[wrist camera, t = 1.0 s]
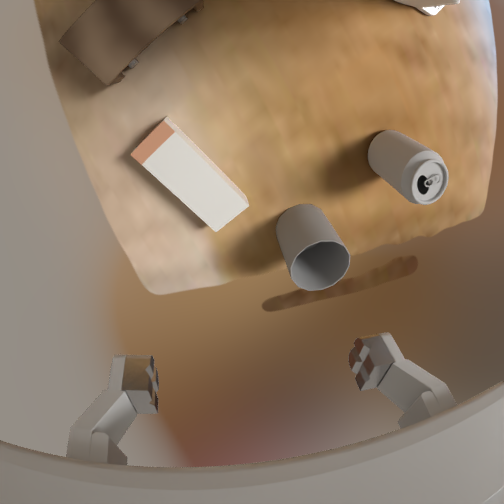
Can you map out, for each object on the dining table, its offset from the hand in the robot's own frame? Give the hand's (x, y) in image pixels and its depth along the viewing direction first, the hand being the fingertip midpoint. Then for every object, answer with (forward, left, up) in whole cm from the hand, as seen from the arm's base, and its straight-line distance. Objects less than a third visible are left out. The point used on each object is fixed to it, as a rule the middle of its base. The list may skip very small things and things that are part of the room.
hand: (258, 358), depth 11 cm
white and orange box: (+6, +1, -33) cm, 34 cm away
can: (-18, +17, -33) cm, 42 cm away
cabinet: (-3, -19, -33) cm, 38 cm away
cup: (0, +19, -33) cm, 38 cm away
